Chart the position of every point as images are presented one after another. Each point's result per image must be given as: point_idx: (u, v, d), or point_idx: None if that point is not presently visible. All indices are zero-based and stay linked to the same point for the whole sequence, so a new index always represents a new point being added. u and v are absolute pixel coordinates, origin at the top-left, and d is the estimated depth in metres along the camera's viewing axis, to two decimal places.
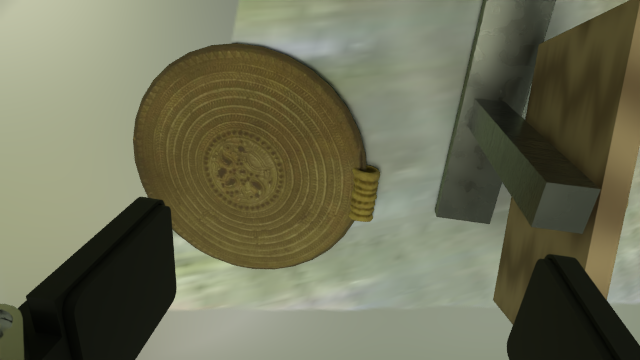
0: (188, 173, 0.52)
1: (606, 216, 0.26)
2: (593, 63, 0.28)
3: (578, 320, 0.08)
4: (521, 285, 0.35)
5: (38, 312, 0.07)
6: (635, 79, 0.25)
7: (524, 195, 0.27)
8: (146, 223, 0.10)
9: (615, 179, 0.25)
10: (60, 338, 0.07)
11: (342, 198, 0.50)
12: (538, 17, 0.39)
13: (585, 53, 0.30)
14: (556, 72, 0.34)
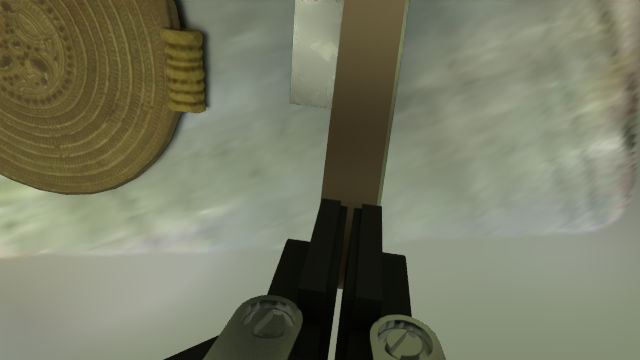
0: None
1: None
2: None
3: (349, 249, 0.09)
4: None
5: (304, 302, 0.08)
6: None
7: None
8: (341, 222, 0.10)
9: None
10: (319, 326, 0.08)
11: (156, 79, 0.34)
12: None
13: None
14: None
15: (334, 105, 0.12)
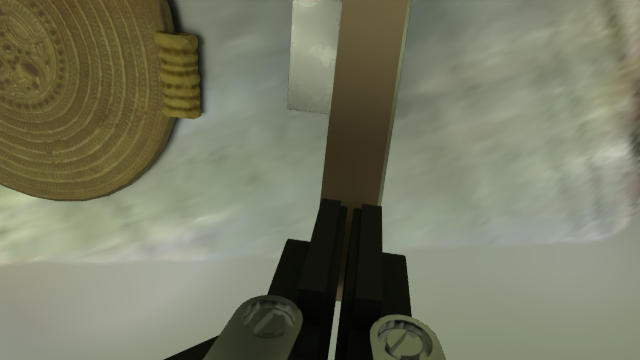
0: None
1: None
2: None
3: (349, 249, 0.09)
4: None
5: (304, 303, 0.08)
6: None
7: None
8: (342, 222, 0.10)
9: None
10: (319, 326, 0.08)
11: (150, 84, 0.33)
12: None
13: None
14: None
15: (331, 122, 0.11)
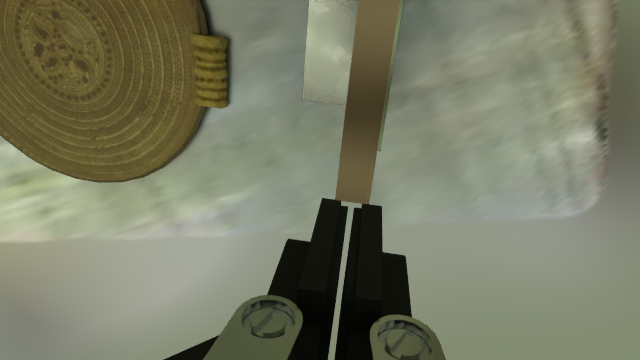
0: (0, 53, 0.41)
1: None
2: None
3: (349, 249, 0.09)
4: None
5: (304, 302, 0.08)
6: None
7: None
8: (342, 222, 0.10)
9: None
10: (319, 326, 0.08)
11: (185, 78, 0.39)
12: None
13: None
14: None
15: (349, 89, 0.18)
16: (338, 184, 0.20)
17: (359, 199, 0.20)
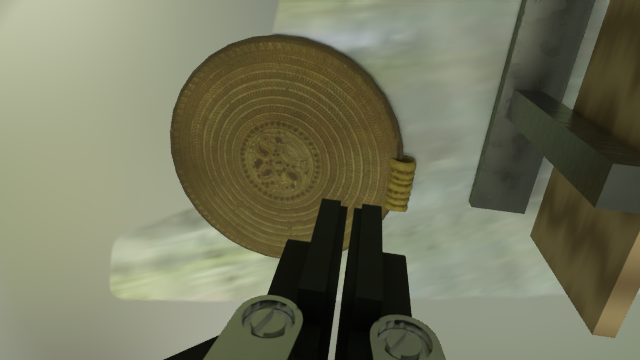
0: (224, 164, 0.52)
1: None
2: None
3: (349, 249, 0.09)
4: (562, 233, 0.38)
5: (304, 302, 0.08)
6: None
7: (585, 178, 0.28)
8: (342, 222, 0.10)
9: None
10: (319, 326, 0.08)
11: (378, 188, 0.50)
12: (580, 8, 0.40)
13: None
14: (634, 25, 0.31)
15: (620, 276, 0.29)
16: (596, 326, 0.31)
17: (608, 335, 0.31)
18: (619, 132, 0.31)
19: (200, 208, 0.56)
